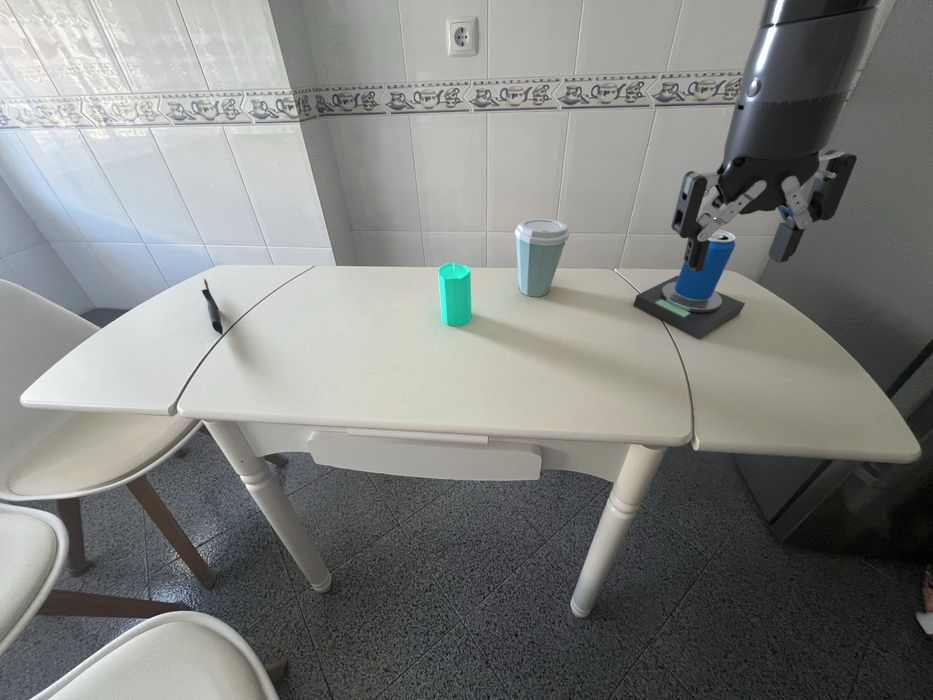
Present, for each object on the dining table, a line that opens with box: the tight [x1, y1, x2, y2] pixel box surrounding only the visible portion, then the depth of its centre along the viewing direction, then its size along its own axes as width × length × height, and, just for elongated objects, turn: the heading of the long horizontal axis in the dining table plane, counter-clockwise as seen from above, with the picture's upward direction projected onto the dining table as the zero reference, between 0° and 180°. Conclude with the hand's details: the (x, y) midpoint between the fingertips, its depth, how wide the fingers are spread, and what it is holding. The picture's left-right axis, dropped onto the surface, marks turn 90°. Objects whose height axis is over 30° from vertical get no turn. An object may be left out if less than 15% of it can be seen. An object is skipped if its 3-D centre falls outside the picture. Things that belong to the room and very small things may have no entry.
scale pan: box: [661, 282, 722, 313], centre depth 71 cm, size 10×10×1 cm
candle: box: [437, 261, 472, 327], centre depth 69 cm, size 6×6×12 cm
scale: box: [632, 274, 746, 340], centre depth 72 cm, size 14×14×3 cm
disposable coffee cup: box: [514, 217, 570, 298], centre depth 76 cm, size 11×11×15 cm
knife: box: [201, 278, 224, 336], centre depth 76 cm, size 24×2×5 cm, turn 35°
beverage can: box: [674, 228, 736, 301], centre depth 67 cm, size 6×6×12 cm
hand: (734, 264), depth 41 cm, fingers open, 8 cm apart
